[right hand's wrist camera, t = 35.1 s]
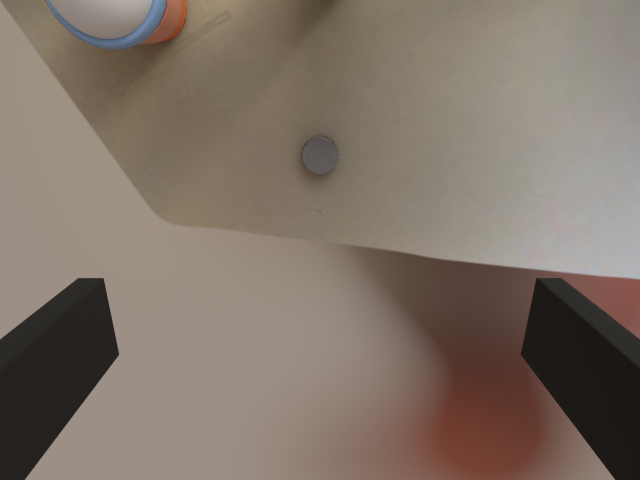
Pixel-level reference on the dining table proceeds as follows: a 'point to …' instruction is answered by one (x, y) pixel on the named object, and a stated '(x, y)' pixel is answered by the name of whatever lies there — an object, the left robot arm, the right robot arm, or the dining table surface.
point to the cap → (320, 155)
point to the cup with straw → (120, 20)
